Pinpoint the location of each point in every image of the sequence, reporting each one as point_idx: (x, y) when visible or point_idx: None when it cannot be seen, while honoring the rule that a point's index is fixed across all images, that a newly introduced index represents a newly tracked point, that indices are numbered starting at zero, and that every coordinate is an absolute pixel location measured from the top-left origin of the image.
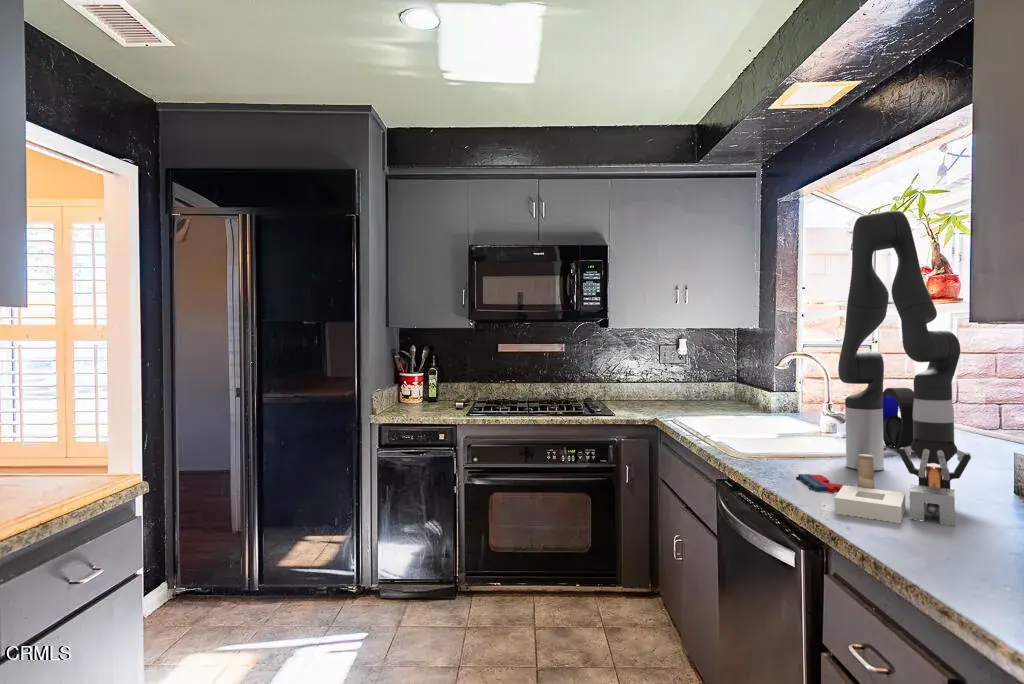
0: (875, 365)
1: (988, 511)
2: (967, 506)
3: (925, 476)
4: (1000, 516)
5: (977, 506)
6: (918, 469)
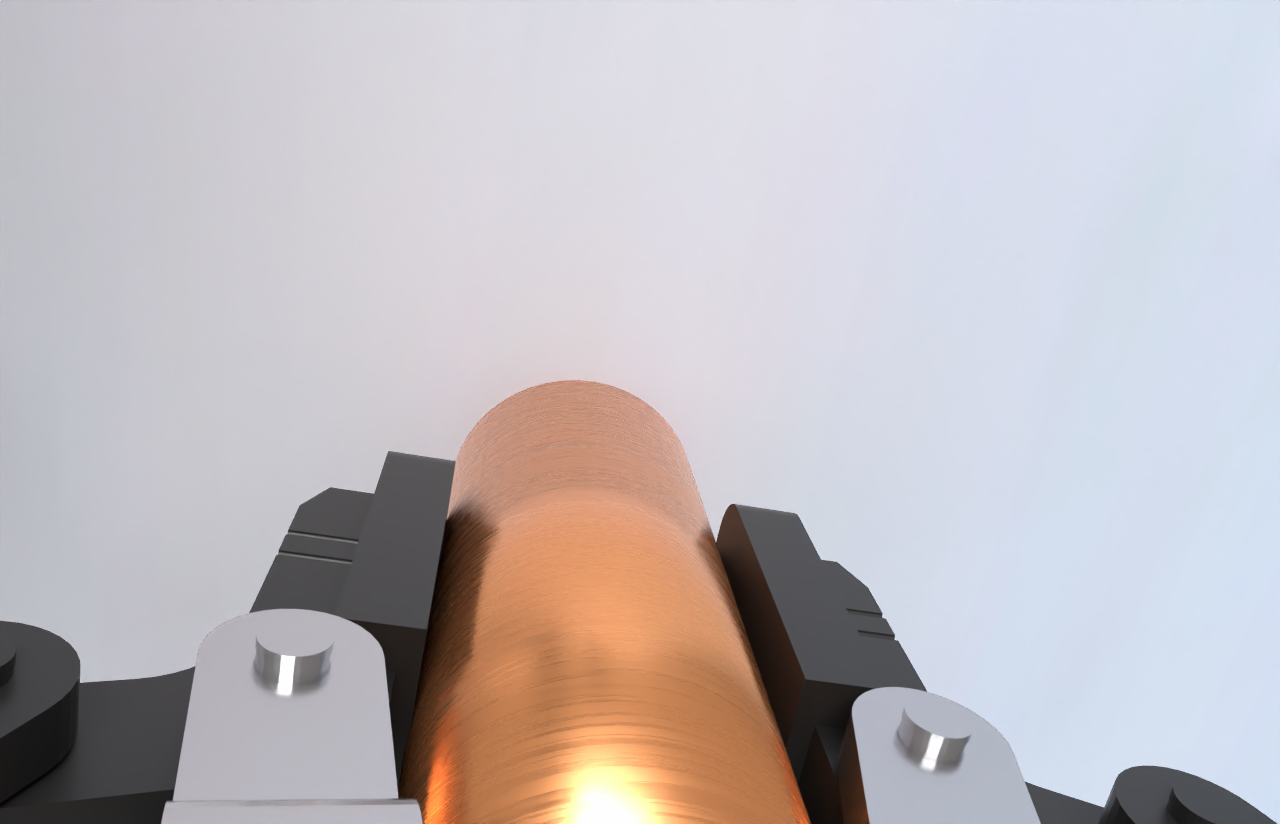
0: None
1: (1220, 609)
2: (1030, 446)
3: (401, 629)
4: (1265, 785)
5: (1181, 386)
6: (150, 820)
